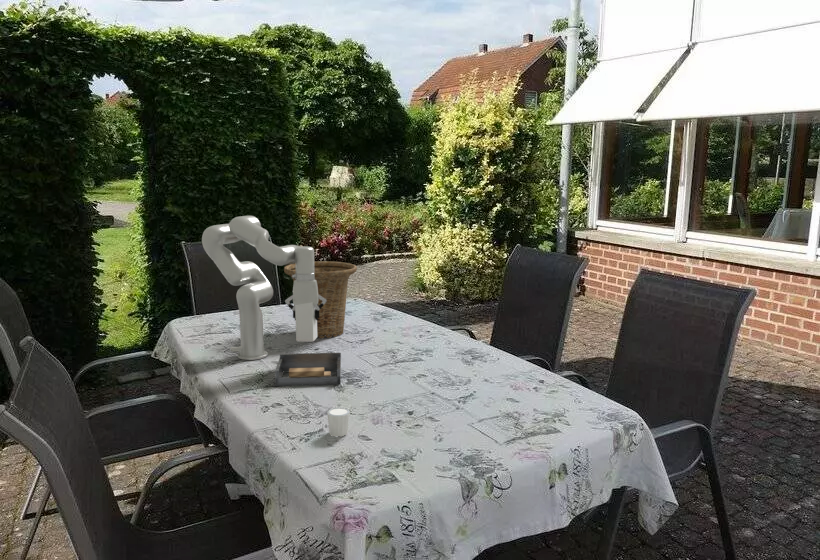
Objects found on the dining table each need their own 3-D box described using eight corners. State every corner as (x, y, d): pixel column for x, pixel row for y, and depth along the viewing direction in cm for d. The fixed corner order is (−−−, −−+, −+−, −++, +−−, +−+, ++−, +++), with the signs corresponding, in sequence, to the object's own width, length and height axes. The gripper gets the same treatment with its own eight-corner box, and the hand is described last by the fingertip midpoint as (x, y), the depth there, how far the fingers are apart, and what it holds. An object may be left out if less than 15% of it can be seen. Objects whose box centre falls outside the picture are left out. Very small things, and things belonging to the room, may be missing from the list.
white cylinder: (328, 428, 194) (327, 407, 192) (350, 428, 194) (350, 407, 193) (326, 438, 187) (326, 416, 186) (349, 437, 187) (349, 415, 186)
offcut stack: (287, 385, 233) (286, 371, 232) (288, 381, 237) (287, 368, 236) (330, 384, 235) (330, 370, 234) (330, 380, 239) (330, 366, 238)
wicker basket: (371, 330, 312) (371, 265, 307) (326, 346, 283) (325, 274, 278) (318, 321, 331) (316, 259, 325) (270, 335, 302) (268, 267, 296)
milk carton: (313, 342, 252) (312, 296, 249) (296, 341, 253) (294, 295, 249) (317, 337, 259) (316, 292, 256) (300, 337, 260) (299, 292, 256)
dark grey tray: (275, 386, 231) (274, 368, 230) (280, 370, 249) (280, 353, 248) (340, 384, 234) (340, 366, 232) (340, 369, 251) (340, 352, 250)
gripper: (282, 279, 247) (283, 322, 250) (326, 278, 249) (327, 321, 252) (284, 276, 254) (285, 317, 257) (327, 275, 256) (328, 317, 259)
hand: (306, 319), depth 254 cm, fingers closed on milk carton, 8 cm apart
